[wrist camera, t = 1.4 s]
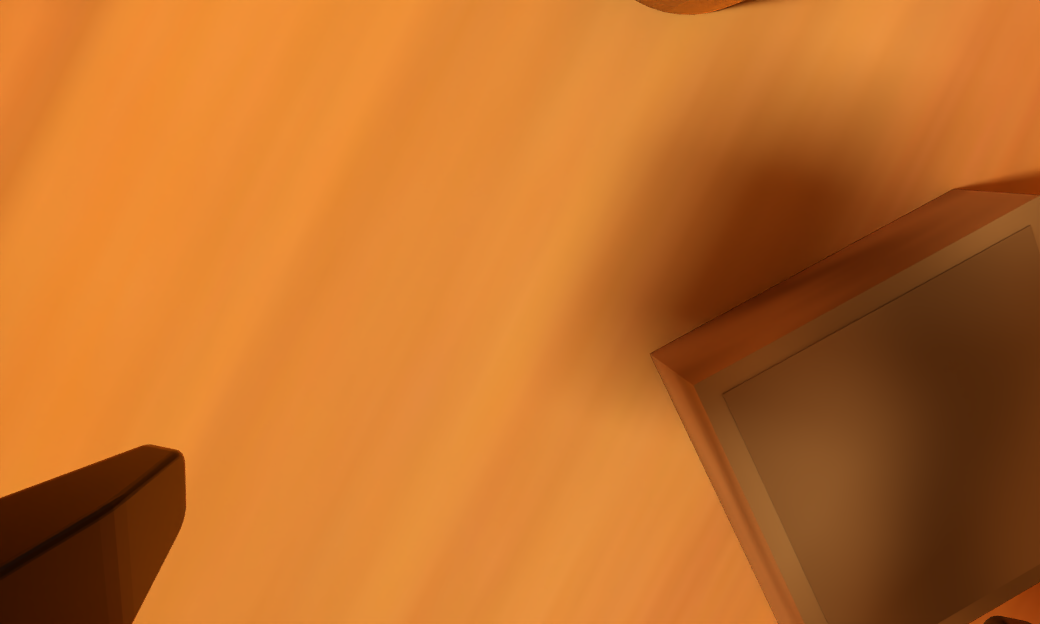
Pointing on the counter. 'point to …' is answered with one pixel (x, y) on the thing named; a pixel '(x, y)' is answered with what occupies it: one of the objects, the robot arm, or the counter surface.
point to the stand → (882, 419)
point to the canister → (689, 5)
